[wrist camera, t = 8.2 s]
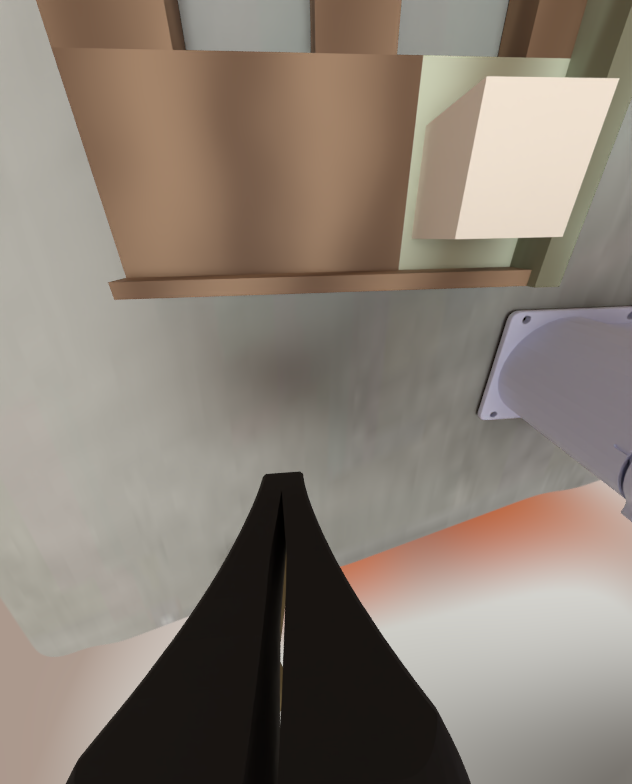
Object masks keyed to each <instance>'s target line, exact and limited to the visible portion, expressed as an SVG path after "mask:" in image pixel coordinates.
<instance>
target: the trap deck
mask: <svg viewBox="0 0 632 784" xmlns="http://www.w3.org/2000/svg"><path fill="white" fill-rule="evenodd" d="M36 2H37V5H38V8H39V11H40V14H41V17H42V20H43V23H44V26H45V29H46V32H47V35H48V38H49V42H50V45H51V48H52V51H53V54H54V57H55V60H56V63H57V66H58V69H59V72H60V75H61V78H62V81H63V85H64V88H65V91H66V94H67V97H68V100H69V103H70V106H71V109H72V112H73V115H74V118H75V121H76V124H77V128H78V131H79V134H80V137H81V140H82V143H83V146H84V149H85V152H86V155H87V158H88V161H89V164H90V167H91V171H92V174H93V177H94V180H95V183H96V186H97V189H98V192H99V195H100V198H101V201H102V204H103V207H104V210H105V214H106V217H107V220H108V223H109V226H110V229H111V232H112V235H113V238H114V241H115V244H116V247H117V250H118V253H119V257H120V260H121V263H122V266H123V269H124V272H125V275H126V278H124V279H120V280H116V281H112V282H108V283H109V286H110V289H111V291H112V294H113V297H114V300H119V299H149V298H178V297H208V296H238V295H268V294H298V293H327V292H357V291H387V290H417V289H446V288H476V287H506V286H530V287H559V286H560V283H561V280H562V278H563V275H564V273H565V270H566V267H567V265H568V262H569V260H570V257H571V254H572V252H573V249H574V247H575V244H576V241H577V239H578V236H579V234H580V231H581V228H582V226H583V223H584V221H585V218H586V215H587V213H588V210H589V208H590V205H591V202H592V200H593V197H594V195H595V192H596V189H597V187H598V184H599V182H600V179H601V176H602V174H603V171H604V169H605V166H606V163H607V161H608V158H609V156H610V153H611V150H612V148H613V145H614V143H615V140H616V137H617V135H618V132H619V130H620V127H621V124H622V122H623V119H624V117H625V114H626V111H627V109H628V106H629V104H630V101H631V98H632V0H509V5H508V10H507V15H506V20H505V25H504V30H503V34H502V39H501V44H500V49H499V54H498V57H475V56H429V55H397V48H398V36H399V24H400V12H401V0H310V19H311V53H290V52H243V51H197V50H186V49H185V43H184V37H183V31H182V25H181V19H180V13H179V7H178V2H177V0H36ZM487 76H503V77H568V78H620V79H619V81H618V84H617V87H616V90H615V92H614V95H613V98H612V101H611V104H610V106H609V109H608V112H607V115H606V117H605V120H604V123H603V126H602V129H601V131H600V134H599V137H598V140H597V142H596V145H595V148H594V151H593V154H592V156H591V159H590V162H589V165H588V167H587V170H586V173H585V176H584V179H583V181H582V184H581V187H580V190H579V192H578V195H577V198H576V201H575V204H574V206H573V209H572V212H571V215H570V217H569V220H568V223H567V226H566V229H565V231H564V234H563V237H534V238H491V239H411V237H412V230H413V222H414V214H415V206H416V199H417V191H418V183H419V175H420V168H421V160H422V152H423V144H424V137H425V129H426V125H428V124H429V123H430V122H431V121H432V120H434V119H435V118H436V117H437V116H439V115H440V114H441V113H442V112H444V111H445V110H446V109H447V108H448V107H450V106H451V105H452V104H453V103H455V102H456V101H457V100H458V99H460V98H461V97H462V96H463V95H464V94H466V93H467V92H468V91H469V90H471V89H472V88H473V87H474V86H476V85H477V84H478V83H479V82H480V81H482V80H483V79H484V78H485V77H487Z"/></svg>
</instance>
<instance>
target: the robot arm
mask: <svg viewBox="0 0 632 784" xmlns="http://www.w3.org/2000/svg"><path fill="white" fill-rule="evenodd" d="M524 317H526V319H525V320H524V321H523V318H524ZM522 321H523V322H522ZM492 412H493V413H492ZM491 413H492V414H491ZM478 417H480V418H481V419H482V420H493V419H508V418H522V419H524V420H525V421H526V422H527V423H529V424H530V425H531V426H533V427H534V428H535V429H536V430H538V431H539V432H540V433H542V434H543V435H544V436H545V437H547V438H548V439H549V440H550V441H552V442H553V443H554V444H556V445H557V446H558V447H559V448H561V449H562V450H563V451H565V452H566V453H567V454H568V455H570V456H571V457H572V458H574V459H575V460H576V461H577V462H579V463H580V464H581V465H583V466H584V467H585V468H586V469H588V470H589V471H590V472H592V473H593V474H594V475H595V476H597V477H598V478H599V479H600V480H602V481H603V482H604V483H606V484H607V485H608V486H609V487H611V488H612V489H613V490H615V491H616V492H617V493H618V494H620V495H621V496H622V497H624V498H625V499H626V504H625V506H624V508H623V509H622V511H621V513H622V514H623V515H624V516H625V517H626V518H628V519H629V520H630V521H631V522H632V306H622V307H597V308H572V309H546V310H521V311H514V312H513V313H511V314H510V315H509V317H508V319H507V322H506V325H505V328H504V331H503V335H502V338H501V341H500V344H499V347H498V350H497V354H496V357H495V360H494V363H493V366H492V369H491V373H490V376H489V379H488V382H487V385H486V388H485V392H484V395H483V398H482V401H481V404H480V407H479V411H478ZM285 561H286V597H285V628H284V653H283V654H284V655H283V678H282V700H281V722H280V634H281V609H282V597H283V585H284V573H285ZM66 784H471V783H470V780H469V777H468V774H467V772H466V769H465V767H464V765H463V762H462V760H461V757H460V755H459V753H458V751H457V748H456V746H455V744H454V742H453V740H452V738H451V736H450V734H449V732H448V730H447V728H446V726H445V724H444V722H443V720H442V718H441V717H440V715H439V713H438V711H437V709H436V707H435V706H434V705H433V703H432V702H431V701H430V699H429V698H428V697H427V696H426V694H425V693H424V692H423V690H422V689H421V688H420V686H419V685H418V684H417V682H416V681H415V680H414V678H413V677H412V676H411V674H410V673H409V672H408V670H407V669H406V668H405V666H404V665H403V664H402V662H401V661H400V660H399V658H398V657H397V655H396V654H395V652H394V651H393V650H392V648H391V647H390V646H389V644H388V643H387V641H386V640H385V638H384V637H383V635H382V634H381V632H380V631H379V629H378V628H377V626H376V625H375V623H374V622H373V621H372V619H371V617H370V616H369V614H368V613H367V611H366V610H365V608H364V607H363V605H362V604H361V602H360V600H359V599H358V597H357V596H356V594H355V592H354V591H353V589H352V587H351V586H350V584H349V582H348V581H347V579H346V577H345V575H344V574H343V572H342V570H341V568H340V566H339V565H338V563H337V561H336V559H335V557H334V555H333V553H332V551H331V549H330V547H329V545H328V543H327V541H326V539H325V537H324V535H323V533H322V530H321V528H320V526H319V524H318V521H317V519H316V516H315V514H314V512H313V509H312V506H311V504H310V501H309V498H308V495H307V491H306V488H305V483H304V478H303V474H302V473H301V472H288V473H275V474H266V475H265V476H263V479H262V482H261V485H260V488H259V491H258V494H257V496H256V499H255V501H254V503H253V506H252V508H251V510H250V512H249V515H248V517H247V519H246V521H245V523H244V525H243V527H242V529H241V531H240V533H239V535H238V537H237V539H236V541H235V543H234V545H233V546H232V548H231V550H230V552H229V554H228V556H227V558H226V559H225V561H224V563H223V564H222V566H221V568H220V570H219V571H218V573H217V575H216V576H215V578H214V580H213V581H212V583H211V584H210V586H209V588H208V589H207V591H206V592H205V594H204V595H203V597H202V598H201V600H200V601H199V603H198V604H197V606H196V607H195V609H194V610H193V612H192V613H191V615H190V616H189V618H188V619H187V621H186V622H185V624H184V625H183V626H182V628H181V629H180V631H179V632H178V633H177V635H176V636H175V638H174V639H173V640H172V642H171V643H170V645H169V646H168V647H167V648H166V650H165V651H164V652H163V654H162V655H161V656H160V658H159V659H158V660H157V662H156V663H155V664H154V666H153V667H152V668H151V670H150V671H149V673H148V674H147V675H146V677H145V678H144V679H143V680H142V682H141V683H140V684H139V685H138V687H137V688H136V689H135V691H134V692H133V693H132V694H131V696H130V697H129V698H128V700H127V701H126V702H125V703H124V704H123V705H122V707H121V708H120V709H119V710H118V711H117V713H116V714H115V715H114V716H113V717H112V719H111V720H110V721H109V722H108V724H107V725H106V726H105V727H104V728H103V730H102V731H101V732H100V733H99V735H98V736H97V737H96V738H95V739H94V741H93V742H92V743H91V744H90V746H89V747H88V748H87V749H86V751H85V752H84V753H83V754H82V755H81V757H80V758H79V759H78V761H77V763H76V765H75V767H74V768H73V771H72V772H71V775H70V776H69V778H68V780H67V783H66Z"/></svg>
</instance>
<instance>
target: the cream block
mask: <svg viewBox="0 0 632 784" xmlns="http://www.w3.org/2000/svg"><path fill="white" fill-rule="evenodd" d="M619 79H620V78H568V77H503V76H487V77H485V78H484V79H483V80H482V81H480V82H479V83H478V84H477V85H476V86H474V87H473V88H472V89H471V90H469V91H468V92H467V93H466V94H464V95H463V96H462V97H461V98H460V99H458V100H457V101H456V102H455V103H453V104H452V105H451V106H450V107H448V108H447V109H446V110H445V111H444V112H442V113H441V114H440V115H439V116H437V117H436V118H435V119H434V120H432V121H431V122H430V123H429V124H428V125H426V129H425V137H424V144H423V152H422V160H421V168H420V175H419V183H418V191H417V199H416V206H415V214H414V222H413V230H412V237H411V239H491V238H534V237H563V234H564V231H565V229H566V226H567V223H568V220H569V217H570V215H571V212H572V209H573V206H574V204H575V201H576V198H577V195H578V192H579V190H580V187H581V184H582V181H583V179H584V176H585V173H586V170H587V167H588V165H589V162H590V159H591V156H592V154H593V151H594V148H595V145H596V142H597V140H598V137H599V134H600V131H601V129H602V126H603V123H604V120H605V117H606V115H607V112H608V109H609V106H610V104H611V101H612V98H613V95H614V92H615V90H616V87H617V84H618V81H619Z"/></svg>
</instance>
